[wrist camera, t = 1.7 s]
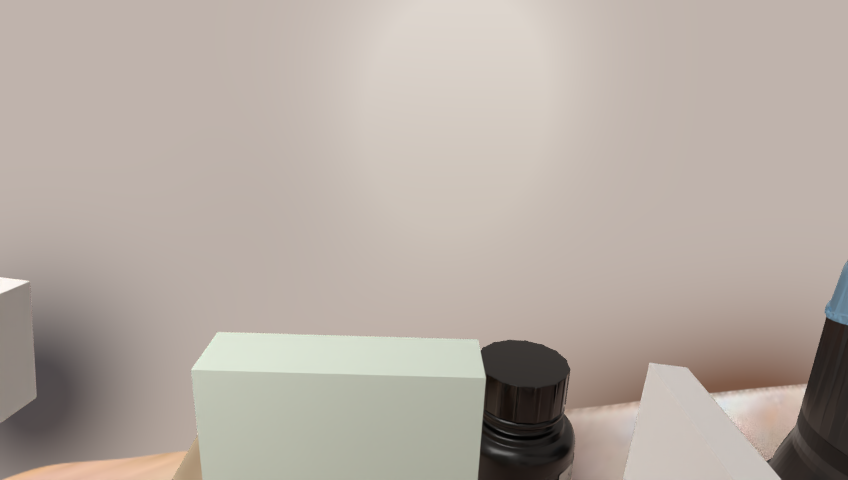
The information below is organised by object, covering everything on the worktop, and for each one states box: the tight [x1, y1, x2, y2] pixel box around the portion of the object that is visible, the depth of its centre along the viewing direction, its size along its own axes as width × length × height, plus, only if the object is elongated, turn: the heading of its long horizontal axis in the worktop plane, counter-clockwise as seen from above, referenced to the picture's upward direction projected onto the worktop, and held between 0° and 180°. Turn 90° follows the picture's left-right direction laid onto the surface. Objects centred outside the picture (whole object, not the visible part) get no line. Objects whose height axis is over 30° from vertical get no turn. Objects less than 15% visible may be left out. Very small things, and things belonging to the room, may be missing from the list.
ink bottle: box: [478, 340, 575, 480], centre depth 44 cm, size 10×9×12 cm
